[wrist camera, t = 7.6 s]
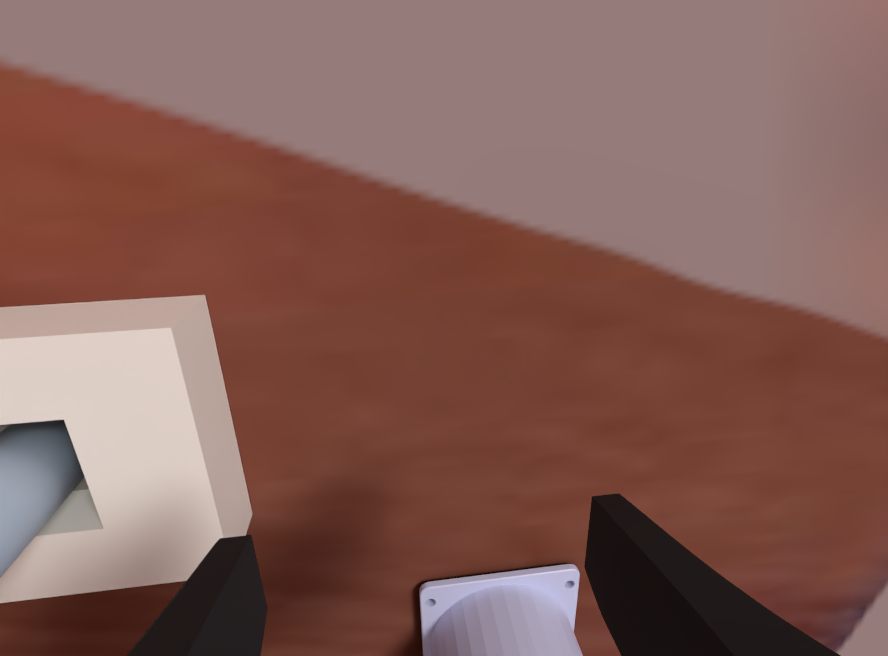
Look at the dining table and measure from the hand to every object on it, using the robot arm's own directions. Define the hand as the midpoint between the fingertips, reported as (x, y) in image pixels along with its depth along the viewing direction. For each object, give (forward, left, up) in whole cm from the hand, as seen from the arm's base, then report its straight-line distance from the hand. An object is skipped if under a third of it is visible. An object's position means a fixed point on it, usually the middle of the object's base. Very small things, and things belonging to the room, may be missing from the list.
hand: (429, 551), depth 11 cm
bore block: (-2, +13, -10) cm, 16 cm away
